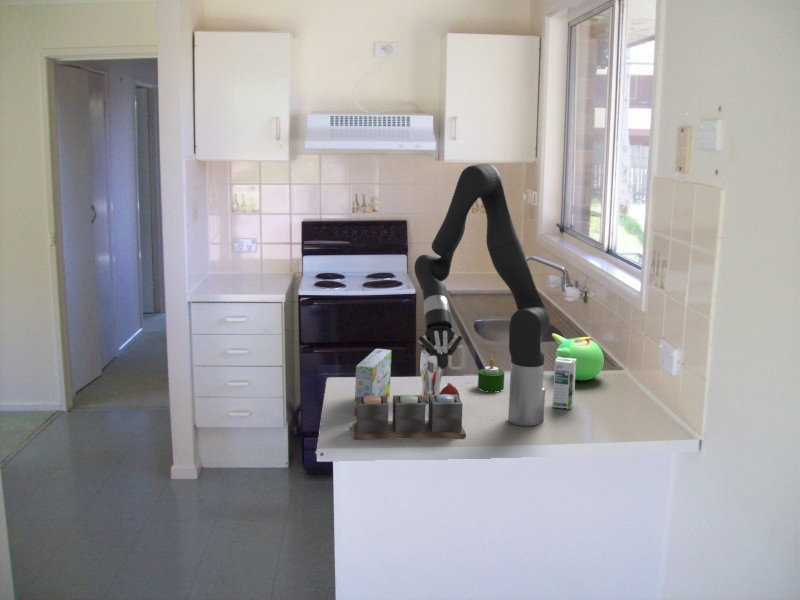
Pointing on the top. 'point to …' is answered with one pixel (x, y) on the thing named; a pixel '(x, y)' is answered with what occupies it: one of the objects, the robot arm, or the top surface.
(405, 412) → the button board
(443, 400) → the pale blue rounded piece
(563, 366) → the syrup box
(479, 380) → the candle
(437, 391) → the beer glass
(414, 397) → the sage button
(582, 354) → the toy bird
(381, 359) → the snack box
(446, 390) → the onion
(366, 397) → the terracotta button
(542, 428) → the top surface
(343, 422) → the top surface
